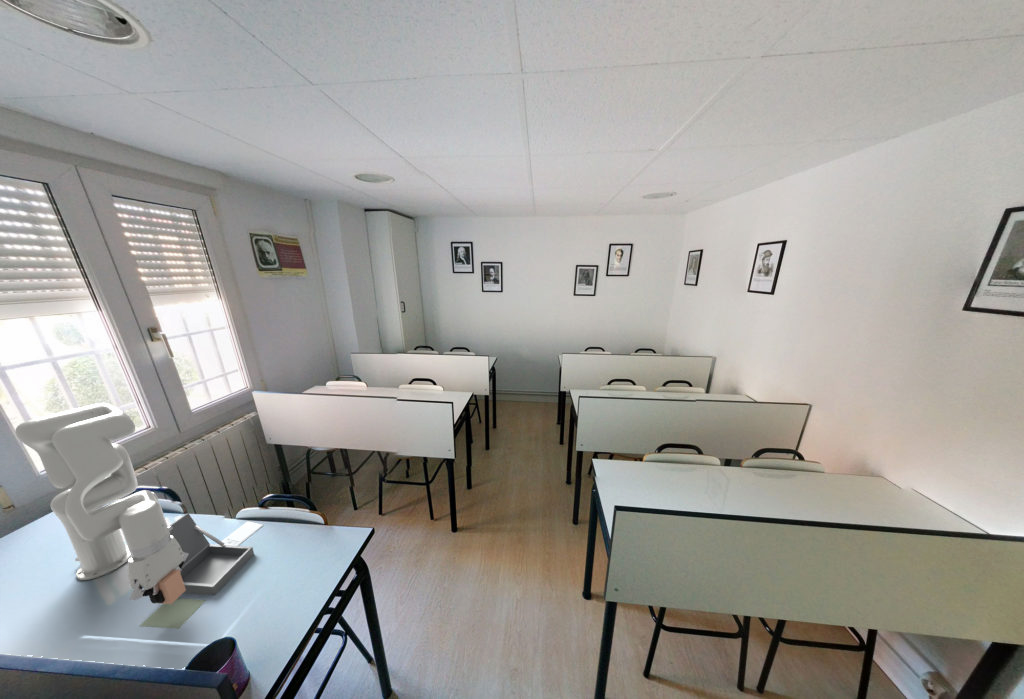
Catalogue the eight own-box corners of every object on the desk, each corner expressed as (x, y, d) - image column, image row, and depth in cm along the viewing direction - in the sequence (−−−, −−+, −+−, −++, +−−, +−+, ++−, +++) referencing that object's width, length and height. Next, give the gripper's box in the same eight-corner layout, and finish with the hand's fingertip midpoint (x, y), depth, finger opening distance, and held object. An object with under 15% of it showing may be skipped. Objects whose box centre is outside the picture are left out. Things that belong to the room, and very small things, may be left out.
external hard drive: (264, 527, 126) (231, 554, 114) (247, 524, 128) (214, 549, 116) (263, 524, 126) (230, 550, 114) (247, 520, 127) (213, 546, 115)
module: (151, 602, 90) (143, 581, 88) (167, 589, 94) (160, 568, 92) (171, 604, 90) (164, 582, 88) (185, 590, 94) (179, 569, 92)
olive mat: (139, 627, 90) (139, 625, 90) (170, 599, 98) (169, 597, 98) (179, 630, 90) (178, 628, 90) (206, 601, 98) (206, 600, 97)
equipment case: (151, 591, 100) (135, 549, 96) (197, 551, 114) (186, 512, 110) (215, 596, 99) (203, 553, 95) (254, 555, 113) (245, 516, 109)
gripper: (171, 520, 95) (185, 566, 100) (98, 571, 79) (120, 624, 84) (194, 521, 95) (208, 568, 100) (126, 572, 79) (146, 625, 84)
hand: (167, 593), depth 92 cm, fingers closed on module, 4 cm apart
